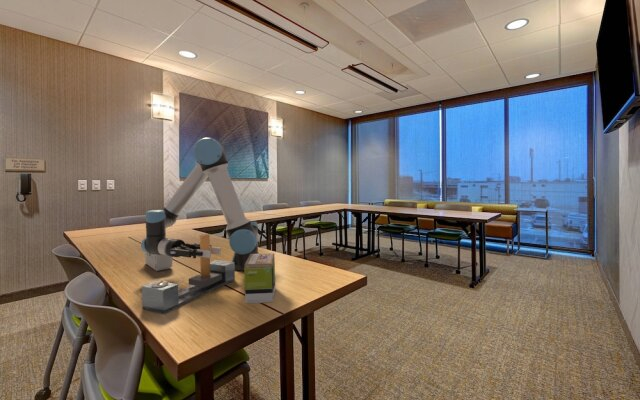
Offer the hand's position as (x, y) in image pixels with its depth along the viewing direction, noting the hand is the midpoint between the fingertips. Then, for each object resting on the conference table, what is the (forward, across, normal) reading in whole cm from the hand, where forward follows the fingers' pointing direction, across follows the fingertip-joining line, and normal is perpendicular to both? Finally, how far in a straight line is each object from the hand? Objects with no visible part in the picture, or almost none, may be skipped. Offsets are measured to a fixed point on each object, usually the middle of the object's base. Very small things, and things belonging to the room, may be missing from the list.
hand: (215, 252), depth 118 cm
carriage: (-5, 0, -13) cm, 14 cm away
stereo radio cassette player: (-50, -14, -15) cm, 54 cm away
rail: (-5, +6, -15) cm, 17 cm away
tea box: (+20, -2, -15) cm, 25 cm away
